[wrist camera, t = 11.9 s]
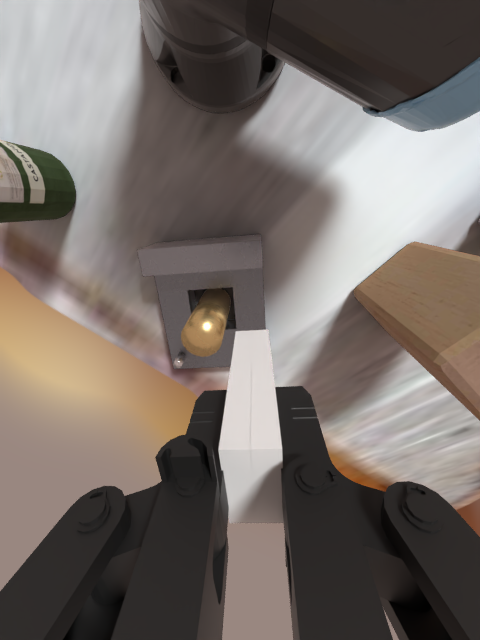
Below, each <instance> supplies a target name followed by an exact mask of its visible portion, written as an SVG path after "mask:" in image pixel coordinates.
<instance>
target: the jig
mask: <svg viewBox="0 0 480 640" xmlns="http://www.w3.org/2000/svg"><path fill="white" fill-rule="evenodd" d="M137 253H138V257H139V262H140V266H141V271H142V275H143V276H154V277H155V282H156V286H157V291H158V296H159V301H160V306H161V310H162V315H163V320H164V325H165V330H166V334H167V339H168V344H169V349H170V354H171V359H172V363H173V368H174V369H185V368H208V367H230V366H231V360H232V354H233V347H234V340H235V333H236V331H250V330H266V327H265V307H264V288H263V257H262V240H261V235H260V234H254V235H242V236H229V237H217V238H205V239H193V240H180V241H168V242H157V243H154V244H152V245H149V246H147V247H144V248H141V249H139V250H137ZM228 287H233V297H234V308H235V318H236V319H234V320H227V323H226V327H225V331H224V335H223V340H222V344H221V347H220V348H219V350H218V351H217V352H216V353H214V354H212V355H210V356H205V357H201V356H196V355H194V354H192V353H190V352H189V351H187V350H186V348H185V347H184V346H183V344H182V341H181V332H182V330H183V328H184V326H185V324H186V323H187V321H188V319H189V317H190V316H191V314H192V312H193V311H194V309H195V307H196V301H195V294H194V290H198V289H213V288H228Z"/></svg>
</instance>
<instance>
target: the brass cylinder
mask: <svg viewBox="0 0 480 640" xmlns="http://www.w3.org/2000/svg"><path fill="white" fill-rule="evenodd" d="M230 306H231V298H230V296H229V294H228V293H227V292H226V291H225V290H224V289H222V288H213V289H207V290H206V291H205V292H204V293H203V295H202V297H201V298H200V300H199V302H198V304H197V305H196V307H195V309H194V311H193V312H192V314H191V316H190V317H189V319H188V321H187V323H186V324H185V326H184V328H183V330H182V332H181V341H182V344H183V346H184V347H185V348H186V350H187V351H189V352H190V353H192V354H194V355H196V356H201V357H205V356H210V355H212V354H214V353H216V352H217V351H218V350H219V348H220V347H221V344H222V340H223V335H224V331H225V327H226V323H227V319H228V314H229V310H230Z"/></svg>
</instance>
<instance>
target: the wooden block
mask: <svg viewBox="0 0 480 640" xmlns="http://www.w3.org/2000/svg"><path fill="white" fill-rule="evenodd" d="M354 295H355V298H356V299H357V300H358V301H359V302H360V303H361V304H362V305H363V306H364V307H365V308H366V310H367V311H368V312H369V313H370V314H371V315H372V316H373V317H374V318H375V319H376V320H377V321H378V323H379V324H380V325H381V326H382V327H383V328H384V329H385V330H386V331H387V332H388V333H389V334H390V335H391V336H392V337H393V338H394V339H395V340H396V341H397V342H398V343H399V344H400V345H401V346H402V347H403V348H404V349H405V350H406V351H407V352H408V353H410V354H411V355H412V356H413V357H414V358H415V359H416V360H417V361H418V362H419V363H420V364H421V365H422V366H423V367H424V368H425V369H426V370H427V371H428V372H429V373H430V374H432V375H433V376H434V377H435V378H436V379H437V380H438V381H439V382H440V383H441V384H442V385H443V386H444V387H445V388H446V389H447V390H448V391H449V392H450V393H451V394H453V395H454V396H455V397H456V398H457V399H458V400H459V401H460V402H461V403H462V404H463V405H464V406H465V407H466V408H467V409H468V410H469V411H470V412H471V413H472V414H473V415H475V416H476V417H477V418H478V419H479V420H480V256H476V255H472V254H468V253H463V252H459V251H454V250H450V249H445V248H441V247H436V246H432V245H428V244H423V243H419V242H412V243H410V244H408V245H406V246H405V247H404V248H403V249H401V250H400V251H399V252H398V253H397V254H395V255H394V256H393V257H392V258H391V259H390V260H388V261H387V262H386V263H385V264H384V265H382V266H381V267H380V268H379V269H378V270H376V271H375V272H374V273H373V274H372V275H370V276H369V277H368V278H367V279H366V280H364V281H363V282H362V283H361V284H360V285H358V286H357V287H356V288H355V290H354Z"/></svg>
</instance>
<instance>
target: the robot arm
mask: <svg viewBox="0 0 480 640" xmlns="http://www.w3.org/2000/svg"><path fill="white" fill-rule="evenodd" d="M139 6H140V14H141V21H142V26H143V31H144V35H145V38H146V41H147V44H148V47H149V50H150V52H151V54H152V57H153V59H154V61H155V63H156V65H157V66H158V68H159V70H160V71H161V73H162V74H163V76H164V77H165V79H166V80H167V82H168V83H169V84H170V86H171V87H172V88H173V89H174V90H175V91H176V93H177V94H179V95H180V96H181V97H182V98H183V99H184V100H186V101H187V102H188V103H190V104H192V105H193V106H195V107H197V108H199V109H202V110H205V111H209V112H214V113H228V112H234V111H238V110H240V109H243V108H245V107H247V106H249V105H251V104H252V103H254V102H255V101H257V100H258V99H259V98H260V97H262V96H263V95H264V94H265V93H266V92H267V91H268V89H269V88H270V87H271V86H272V85H273V83H274V82H275V80H276V79H277V77H278V75H279V74H280V72H281V70H282V68H283V66H284V64H285V63H287V64H289V65H291V66H292V67H294V68H296V69H298V70H299V71H301V72H303V73H304V74H306V75H308V76H310V77H311V78H313V79H315V80H317V81H318V82H320V83H322V84H324V85H325V86H327V87H329V88H331V89H332V90H334V91H336V92H338V93H339V94H341V95H343V96H345V97H346V98H348V99H350V100H352V101H353V102H355V103H357V104H359V105H360V106H362V107H363V111H364V112H366V113H367V114H369V115H371V116H375V117H384V118H386V119H388V120H390V121H392V122H394V123H396V124H398V125H400V126H402V127H404V128H406V129H409V130H413V131H418V132H423V131H427V130H434V129H441V128H445V127H447V126H450V125H453V124H455V123H457V122H459V121H462V120H464V119H466V118H468V117H470V116H471V115H473V114H475V113H477V112H479V111H480V0H139ZM156 461H157V465H158V468H159V472H160V476H161V479H162V481H161V482H160V483H158V484H157V485H155V486H153V487H150V488H148V489H145V490H142V491H139V492H136V493H133V494H130V495H127V496H124V494H123V492H122V490H120V489H118V488H117V487H115V486H103V487H100V488H97V489H94V490H92V491H90V492H88V493H87V494H85V495H83V496H82V497H80V499H78V500H77V501H76V502H75V503H74V504H73V505H72V506H71V507H70V508H69V510H68V511H67V512H66V513H65V515H63V517H62V518H61V519H60V520H59V522H58V523H57V524H56V525H55V526H54V528H53V529H52V530H51V531H50V532H49V534H48V535H47V536H46V537H45V538H44V540H43V541H42V542H41V543H40V544H39V546H38V547H37V548H36V549H35V550H34V552H33V553H32V554H31V555H30V556H29V558H28V559H27V560H26V561H25V563H24V564H23V565H22V566H21V567H20V569H19V570H18V571H17V572H16V573H15V574H14V576H13V577H12V578H11V579H10V580H9V582H8V583H7V584H6V585H5V586H4V588H3V589H2V590H1V591H0V640H222V630H223V617H224V616H223V615H224V603H225V589H226V575H227V562H228V539H227V523H228V516H229V523H284V530H285V547H286V548H285V549H286V551H285V552H286V566H287V572H288V584H289V595H290V606H291V618H292V629H293V640H393V639H392V635H391V632H390V629H389V626H388V623H387V620H386V616H385V613H384V610H385V612H386V614H387V616H388V618H389V620H390V622H391V624H392V626H393V628H394V630H395V632H396V634H397V636H398V638H399V640H480V537H479V536H478V535H477V534H476V533H475V531H474V530H473V529H472V528H471V527H470V526H469V525H468V524H467V523H466V521H465V520H464V519H463V518H462V517H461V516H460V515H459V514H458V513H457V512H456V510H455V509H454V508H453V507H452V506H451V505H450V504H449V503H448V502H447V501H446V500H445V499H443V498H442V497H441V496H440V495H439V494H438V493H436V492H434V491H433V490H431V489H429V488H427V487H425V486H423V485H420V484H417V483H413V482H409V481H408V482H396V483H394V484H393V485H391V486H389V487H388V488H387V490H386V492H384V491H380V490H377V489H374V488H370V487H367V486H363V485H360V484H358V483H355V482H353V481H351V480H349V479H348V478H346V477H345V476H343V475H342V474H341V473H340V472H339V471H338V470H337V469H336V468H335V466H334V465H333V464H332V462H331V460H330V457H329V454H328V451H327V448H326V444H325V441H324V438H323V434H322V431H321V428H320V424H319V421H318V419H317V414H316V411H315V409H314V404H313V401H312V397H311V395H310V394H309V393H308V392H307V391H306V390H305V389H304V388H303V387H302V386H295V387H275V382H274V373H273V364H272V355H271V347H270V338H269V329H268V330H250V331H236V333H235V340H234V347H233V354H232V360H231V367H230V374H229V381H228V388H227V390H214V391H204V392H203V393H202V394H201V395H200V397H199V398H198V399H197V400H196V402H195V406H194V409H193V414H192V416H191V419H190V423H189V426H188V429H187V433H186V435H181V436H178V437H176V438H174V439H172V440H170V441H169V442H167V443H166V444H165V445H164V446H163V447H162V448H161V449H160V451H159V452H158V454H157V456H156ZM382 606H383V607H382ZM383 608H384V610H383Z"/></svg>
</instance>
